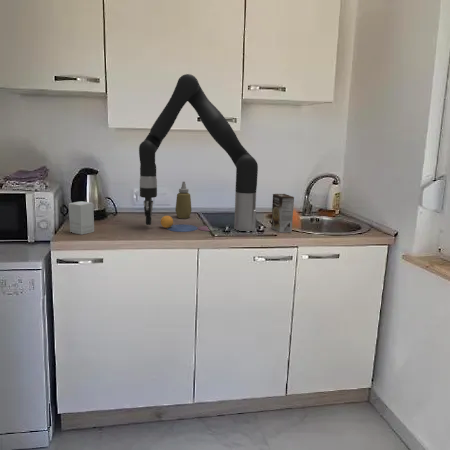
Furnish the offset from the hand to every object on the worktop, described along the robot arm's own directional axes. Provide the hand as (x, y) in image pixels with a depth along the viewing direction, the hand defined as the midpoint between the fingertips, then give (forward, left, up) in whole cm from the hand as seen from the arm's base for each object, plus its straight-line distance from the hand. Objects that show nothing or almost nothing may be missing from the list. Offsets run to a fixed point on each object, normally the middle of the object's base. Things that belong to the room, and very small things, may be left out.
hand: (148, 224), depth 212 cm
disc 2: (-27, 0, -2) cm, 27 cm away
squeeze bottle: (-15, -24, -2) cm, 28 cm away
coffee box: (-60, +1, -2) cm, 60 cm away
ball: (-8, 0, +1) cm, 8 cm away
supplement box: (+27, +10, -2) cm, 29 cm away
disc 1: (-15, 0, -2) cm, 15 cm away
